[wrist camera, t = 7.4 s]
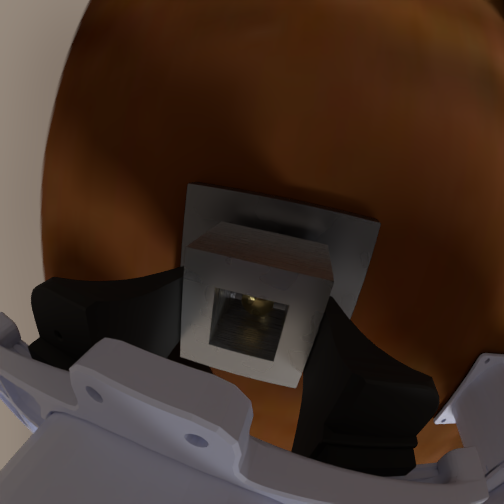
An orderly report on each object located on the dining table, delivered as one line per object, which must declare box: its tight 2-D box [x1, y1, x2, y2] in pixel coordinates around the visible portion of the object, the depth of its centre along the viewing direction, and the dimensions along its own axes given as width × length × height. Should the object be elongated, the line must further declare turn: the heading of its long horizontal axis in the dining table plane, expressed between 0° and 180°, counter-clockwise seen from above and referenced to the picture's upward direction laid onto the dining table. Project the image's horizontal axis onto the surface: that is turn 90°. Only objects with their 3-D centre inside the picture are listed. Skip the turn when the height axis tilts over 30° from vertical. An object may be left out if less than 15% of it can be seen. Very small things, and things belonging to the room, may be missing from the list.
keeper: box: [181, 182, 381, 319], centre depth 14 cm, size 10×8×4 cm
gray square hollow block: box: [180, 222, 334, 388], centre depth 12 cm, size 5×5×4 cm
